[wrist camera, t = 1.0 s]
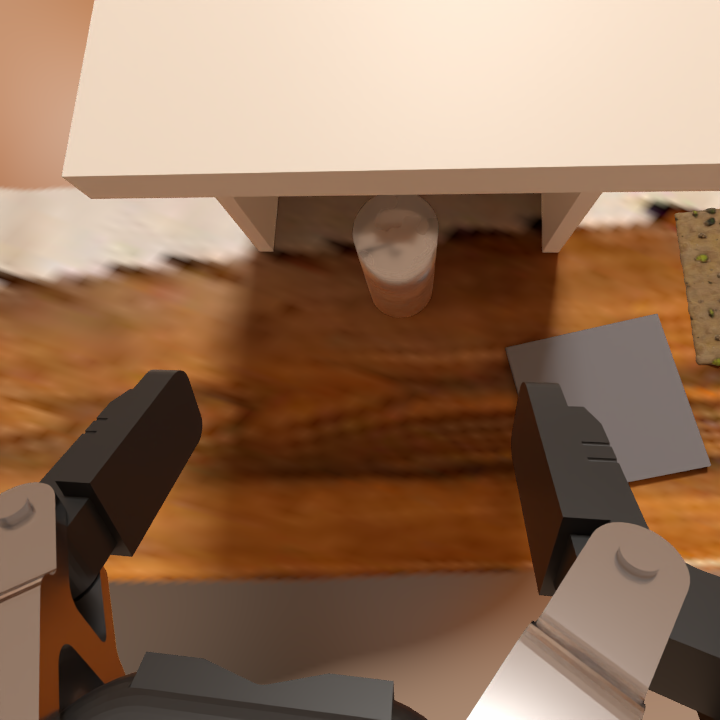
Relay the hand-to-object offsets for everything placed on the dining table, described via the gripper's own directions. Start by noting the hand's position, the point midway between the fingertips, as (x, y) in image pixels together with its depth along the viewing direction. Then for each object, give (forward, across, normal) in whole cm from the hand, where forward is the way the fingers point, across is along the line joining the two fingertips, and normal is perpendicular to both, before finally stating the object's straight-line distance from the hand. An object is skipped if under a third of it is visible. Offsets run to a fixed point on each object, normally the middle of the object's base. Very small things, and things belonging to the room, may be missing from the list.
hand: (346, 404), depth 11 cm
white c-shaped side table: (+28, 0, +6) cm, 28 cm away
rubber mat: (+19, -15, +15) cm, 28 cm away
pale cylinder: (+25, 0, +9) cm, 27 cm away
